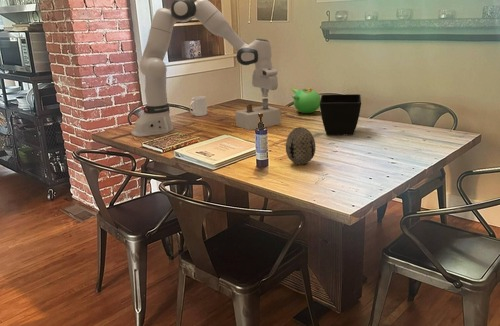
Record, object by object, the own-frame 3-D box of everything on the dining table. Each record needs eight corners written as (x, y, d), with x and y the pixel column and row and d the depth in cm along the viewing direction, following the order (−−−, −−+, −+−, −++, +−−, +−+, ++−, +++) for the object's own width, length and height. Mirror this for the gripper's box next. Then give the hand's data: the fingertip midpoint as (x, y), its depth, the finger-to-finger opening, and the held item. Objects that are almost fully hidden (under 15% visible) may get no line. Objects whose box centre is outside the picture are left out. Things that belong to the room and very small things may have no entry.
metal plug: (265, 116, 246) (264, 99, 243) (261, 115, 249) (261, 99, 246) (269, 115, 248) (269, 98, 245) (266, 114, 250) (266, 98, 247)
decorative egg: (321, 162, 183) (321, 125, 178) (304, 170, 174) (303, 132, 170) (297, 157, 190) (296, 122, 185) (280, 165, 182) (278, 128, 177)
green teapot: (322, 115, 259) (322, 89, 255) (293, 116, 260) (292, 91, 255) (318, 108, 276) (318, 84, 272) (290, 110, 277) (290, 86, 272)
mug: (186, 116, 277) (184, 99, 274) (201, 112, 285) (199, 95, 282) (195, 118, 272) (193, 100, 268) (210, 114, 280) (208, 96, 276)
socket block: (249, 130, 237) (248, 115, 234) (236, 125, 249) (235, 111, 246) (281, 123, 246) (280, 109, 244) (267, 119, 258) (266, 105, 255)
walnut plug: (249, 122, 242) (248, 106, 239) (246, 121, 245) (245, 105, 242) (254, 121, 244) (253, 105, 241) (251, 120, 246) (250, 104, 243)
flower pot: (360, 137, 213) (361, 101, 208) (319, 137, 217) (319, 102, 212) (359, 127, 231) (360, 94, 225) (321, 127, 234) (321, 94, 229)
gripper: (248, 69, 248) (250, 95, 252) (269, 72, 231) (270, 100, 235) (258, 68, 251) (259, 93, 255) (279, 71, 234) (280, 98, 238)
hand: (265, 96), depth 245 cm, fingers closed
